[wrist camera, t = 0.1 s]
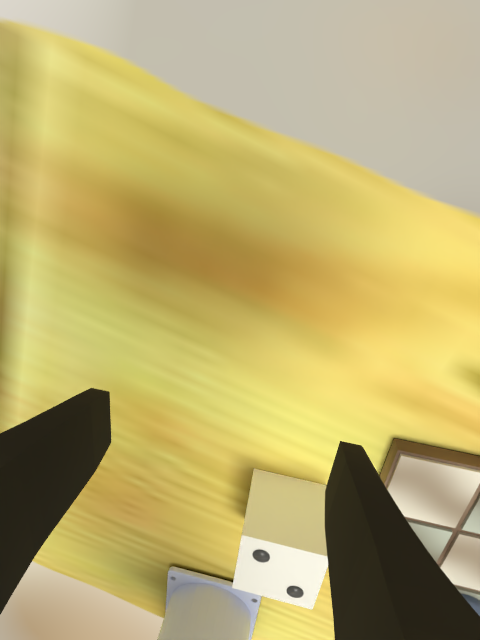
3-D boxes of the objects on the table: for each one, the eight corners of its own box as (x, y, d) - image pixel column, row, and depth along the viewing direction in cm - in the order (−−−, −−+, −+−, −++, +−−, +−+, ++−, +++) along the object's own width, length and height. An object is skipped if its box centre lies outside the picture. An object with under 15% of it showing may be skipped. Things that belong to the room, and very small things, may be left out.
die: (312, 533, 26) (313, 611, 21) (245, 516, 26) (231, 589, 22) (327, 484, 24) (332, 559, 19) (254, 467, 24) (241, 536, 20)
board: (543, 640, 26) (553, 660, 25) (336, 586, 27) (338, 603, 26) (668, 495, 20) (689, 514, 19) (394, 438, 21) (398, 452, 20)
